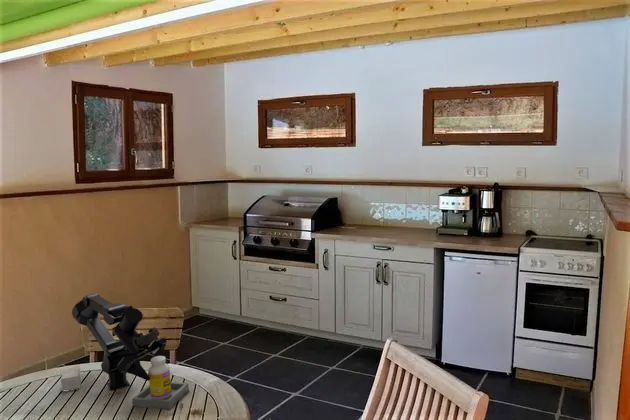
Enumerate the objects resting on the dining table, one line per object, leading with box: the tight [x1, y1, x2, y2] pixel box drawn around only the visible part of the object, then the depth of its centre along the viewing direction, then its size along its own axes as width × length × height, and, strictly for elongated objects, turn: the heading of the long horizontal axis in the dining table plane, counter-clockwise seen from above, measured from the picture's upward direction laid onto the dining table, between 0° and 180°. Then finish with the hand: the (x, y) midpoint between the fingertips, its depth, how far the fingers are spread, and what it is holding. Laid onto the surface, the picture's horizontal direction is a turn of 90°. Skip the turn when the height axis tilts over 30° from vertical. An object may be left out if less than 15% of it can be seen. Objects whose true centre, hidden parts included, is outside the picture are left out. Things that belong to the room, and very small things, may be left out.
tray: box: [131, 381, 190, 410], centre depth 172 cm, size 13×13×2 cm
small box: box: [60, 369, 82, 392], centre depth 184 cm, size 6×6×5 cm
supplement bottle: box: [147, 356, 172, 399], centre depth 172 cm, size 7×7×13 cm
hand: (158, 373), depth 172 cm, fingers open, 9 cm apart
